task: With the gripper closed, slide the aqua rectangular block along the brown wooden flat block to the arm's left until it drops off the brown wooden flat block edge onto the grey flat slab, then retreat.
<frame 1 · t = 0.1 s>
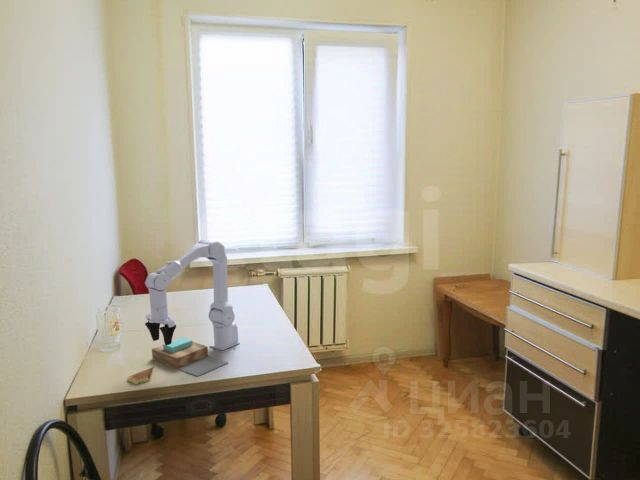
hand: (162, 342, 181), 10 cm above the table, fingers open, 7 cm apart
aqua rectangular block: (178, 347, 192), point 4 cm above the table, touching brown wooden flat block
brown wooden flat block: (180, 357, 192), on the table
shard: (140, 379, 176), on the table
grey flat slab: (203, 366, 183), on the table
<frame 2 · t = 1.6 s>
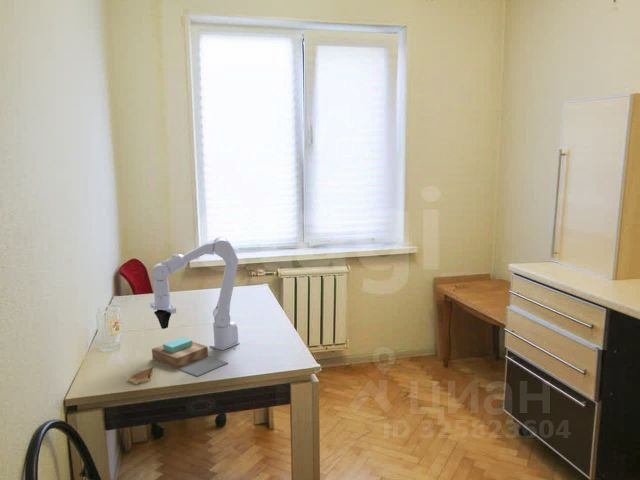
hand: (164, 328, 196), 10 cm above the table, fingers closed
nothing on the table moved.
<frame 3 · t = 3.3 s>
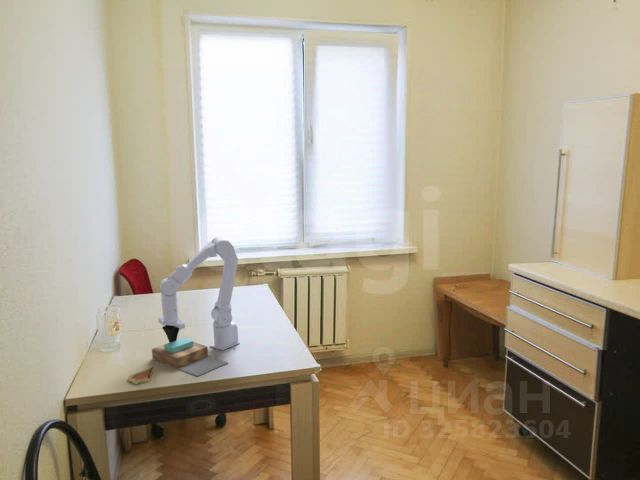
hand: (172, 343, 194), 5 cm above the table, fingers closed
aqua rectangular block: (179, 347, 192), point 4 cm above the table
everything else where it was.
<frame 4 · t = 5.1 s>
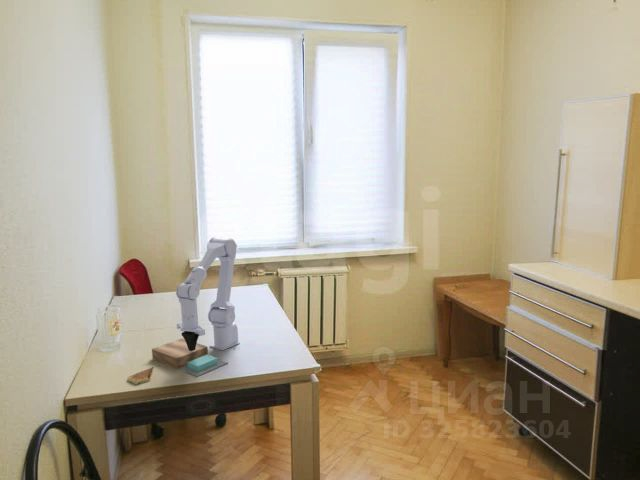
hand: (192, 350, 187), 5 cm above the table, fingers closed
aqua rectangular block: (202, 360, 183), point 2 cm above the table, tilted 180°, touching grey flat slab
everything else where it was.
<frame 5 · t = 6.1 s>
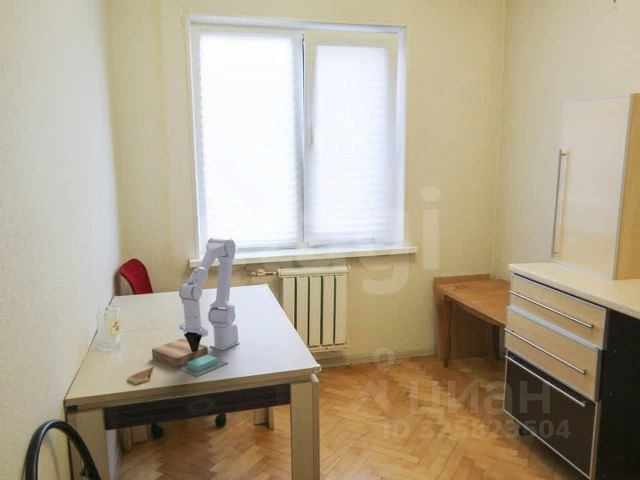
hand: (194, 351, 186), 5 cm above the table, fingers closed
nothing on the table moved.
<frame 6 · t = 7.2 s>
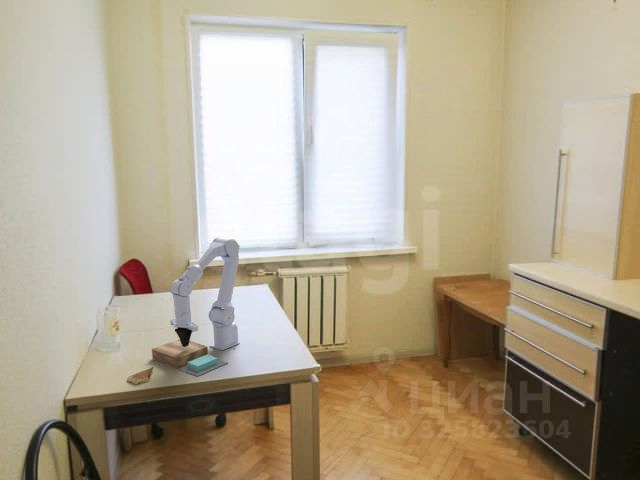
hand: (185, 345, 189), 6 cm above the table, fingers closed
nothing on the table moved.
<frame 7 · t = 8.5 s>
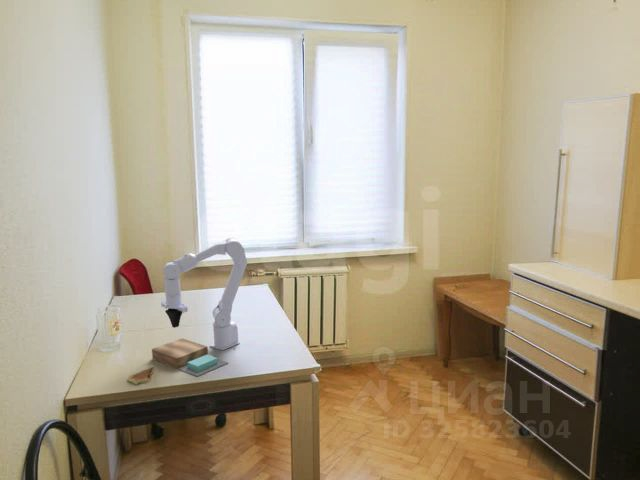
hand: (175, 326, 197), 10 cm above the table, fingers closed
nothing on the table moved.
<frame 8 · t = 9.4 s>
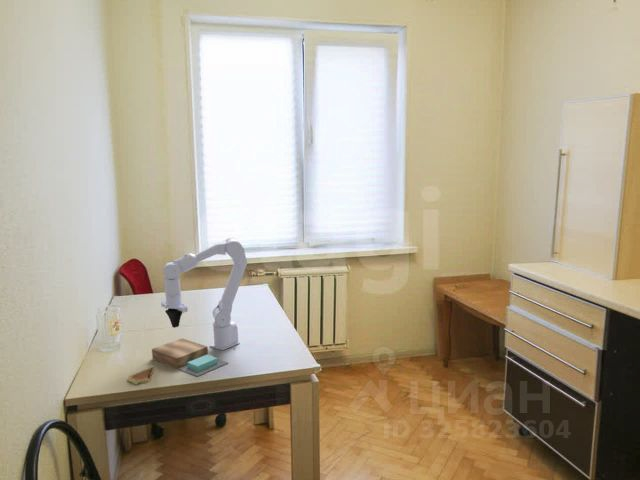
hand: (175, 326, 197), 10 cm above the table, fingers closed
nothing on the table moved.
at the end: aqua rectangular block point 2.4 cm above the table; aqua rectangular block inside the target area on the grey flat slab (0.1 cm from its centre), point 2.4 cm above the grey flat slab's base; aqua rectangular block touching grey flat slab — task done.
